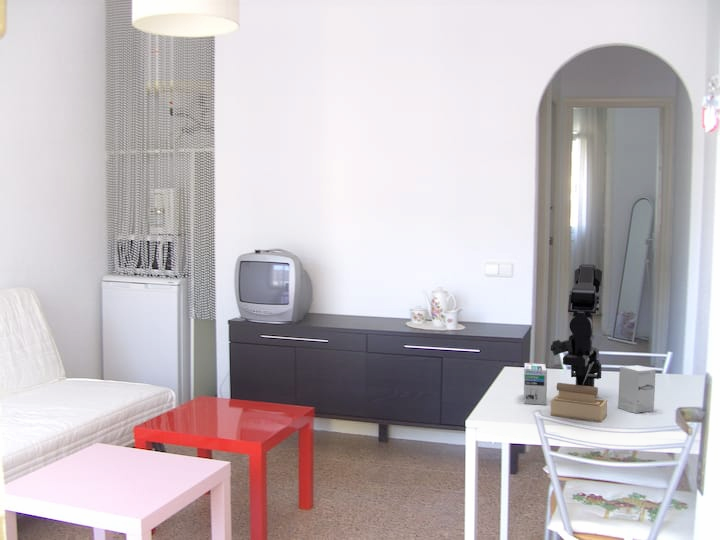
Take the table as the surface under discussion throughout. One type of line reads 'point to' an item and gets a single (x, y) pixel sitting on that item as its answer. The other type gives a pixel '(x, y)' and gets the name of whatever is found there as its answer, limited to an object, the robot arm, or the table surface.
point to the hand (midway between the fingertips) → (580, 385)
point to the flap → (577, 393)
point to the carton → (579, 410)
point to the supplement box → (636, 388)
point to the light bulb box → (535, 383)
